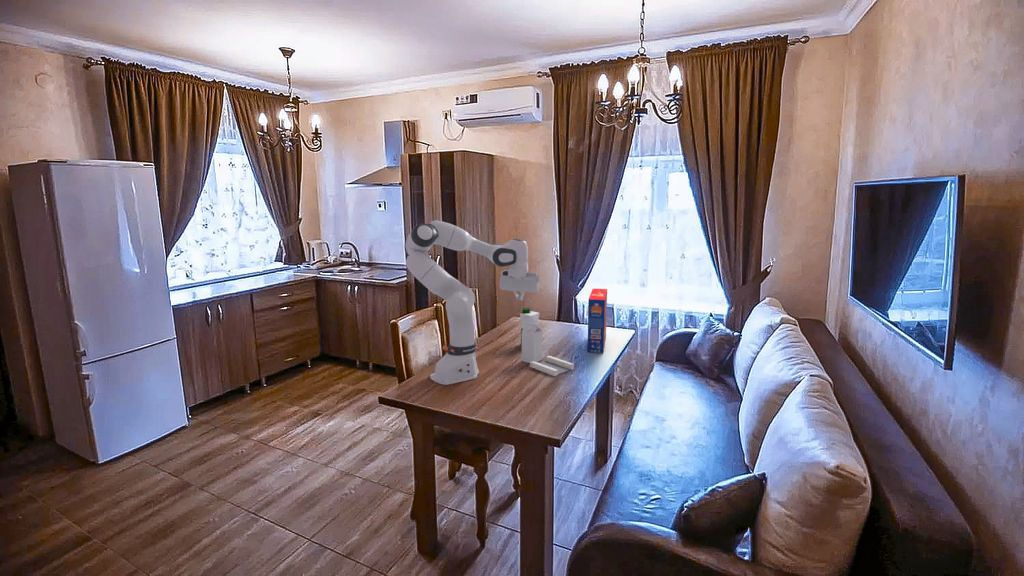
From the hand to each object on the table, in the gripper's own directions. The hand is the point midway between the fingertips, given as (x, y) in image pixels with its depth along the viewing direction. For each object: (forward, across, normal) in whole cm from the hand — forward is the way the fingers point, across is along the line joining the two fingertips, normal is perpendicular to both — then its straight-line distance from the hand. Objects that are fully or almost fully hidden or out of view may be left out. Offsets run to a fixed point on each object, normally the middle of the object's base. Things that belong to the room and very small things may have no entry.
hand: (519, 300), depth 236 cm
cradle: (+29, -20, +8) cm, 36 cm away
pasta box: (+29, -30, -35) cm, 54 cm away
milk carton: (+29, -8, +3) cm, 31 cm away
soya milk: (+29, +3, -18) cm, 35 cm away
